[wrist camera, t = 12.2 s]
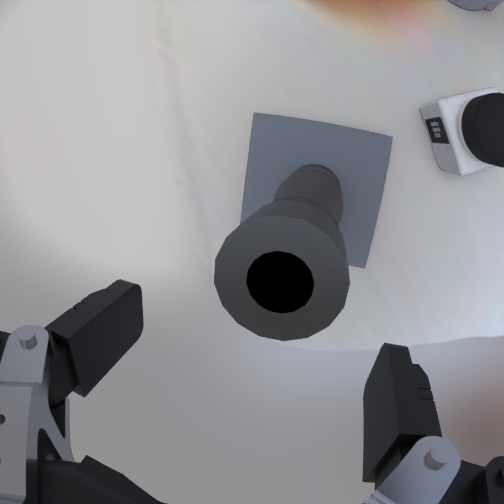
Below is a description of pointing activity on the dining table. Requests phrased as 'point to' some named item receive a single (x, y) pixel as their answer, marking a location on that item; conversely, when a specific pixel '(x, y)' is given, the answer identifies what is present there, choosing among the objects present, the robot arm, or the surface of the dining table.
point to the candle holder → (288, 260)
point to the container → (467, 130)
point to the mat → (329, 155)
